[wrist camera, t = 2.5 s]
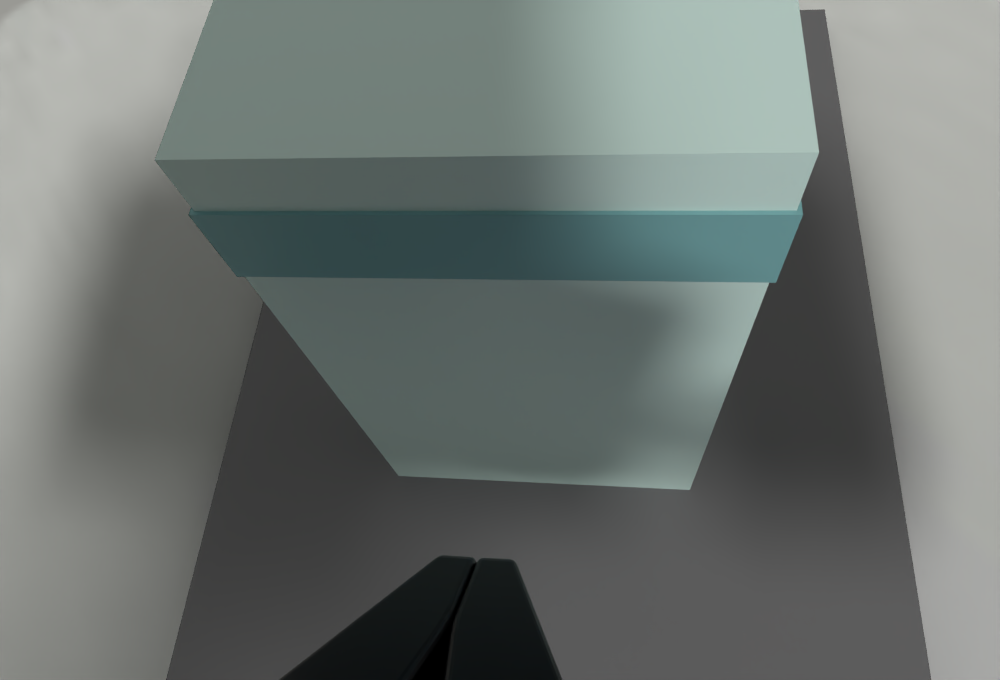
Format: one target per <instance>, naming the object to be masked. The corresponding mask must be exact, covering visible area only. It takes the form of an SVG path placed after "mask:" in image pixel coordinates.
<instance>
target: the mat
mask: <svg viewBox="0 0 1000 680" xmlns="http://www.w3.org/2000/svg"><path fill="white" fill-rule="evenodd" d="M800 17H801V24H802V32H803V39H804V46H805V53H806V61H807V68H808V75H809V82H810V90H811V97H812V104H813V111H814V119H815V126H816V133H817V140H818V148H819V154H818V157H817V159H816V162H815V164H814V167H813V170H812V172H811V175H810V178H809V180H808V183H807V185H806V188H805V191H804V193H803V196H802V198H801V202H802V211H803V216H802V219H801V221H800V224H799V226H798V229H797V231H796V234H795V236H794V239H793V241H792V244H791V246H790V249H789V251H788V254H787V256H786V259H785V261H784V264H783V266H782V269H781V271H780V274H779V276H778V279H777V281H776V283H769V285H768V287H767V290H766V292H765V295H764V298H763V300H762V303H761V305H760V308H759V311H758V313H757V316H756V318H755V321H754V324H753V326H752V329H751V332H750V334H749V337H748V339H747V342H746V345H745V347H744V350H743V352H742V355H741V358H740V360H739V363H738V365H737V368H736V371H735V373H734V376H733V379H732V381H731V384H730V386H729V389H728V392H727V394H726V397H725V399H724V402H723V405H722V407H721V410H720V412H719V415H718V418H717V420H716V423H715V426H714V428H713V431H712V433H711V436H710V439H709V441H708V444H707V446H706V449H705V452H704V454H703V457H702V459H701V462H700V465H699V467H698V470H697V473H696V475H695V478H694V480H693V483H692V486H691V488H690V490H679V489H659V488H638V487H617V486H597V485H576V484H555V483H535V482H514V481H493V480H473V479H452V478H431V477H411V476H398V475H397V473H396V472H395V471H394V469H393V468H392V467H391V465H390V464H389V463H388V462H387V460H386V459H385V458H384V456H383V455H382V454H381V452H380V451H379V450H378V449H377V447H376V446H375V445H374V443H373V442H372V441H371V440H370V438H369V437H368V436H367V434H366V433H365V432H364V430H363V429H362V428H361V427H360V425H359V424H358V423H357V421H356V420H355V419H354V418H353V416H352V415H351V414H350V412H349V411H348V410H347V408H346V407H345V406H344V405H343V403H342V402H341V401H340V399H339V398H338V397H337V395H336V394H335V393H334V392H333V390H332V389H331V388H330V386H329V385H328V384H327V383H326V381H325V380H324V379H323V377H322V376H321V375H320V373H319V372H318V371H317V370H316V368H315V367H314V366H313V364H312V363H311V362H310V360H309V359H308V358H307V357H306V355H305V354H304V353H303V351H302V350H301V349H300V348H299V346H298V345H297V344H296V342H295V341H294V340H293V338H292V337H291V336H290V335H289V333H288V332H287V331H286V329H285V328H284V327H283V326H282V324H281V323H280V322H279V320H278V319H277V318H276V316H275V315H274V314H273V313H272V311H271V310H270V309H269V307H268V306H267V305H266V303H265V302H263V306H262V310H261V314H260V318H259V322H258V325H257V329H256V333H255V337H254V341H253V345H252V349H251V353H250V356H249V360H248V364H247V368H246V372H245V376H244V380H243V384H242V387H241V391H240V395H239V399H238V403H237V407H236V411H235V415H234V418H233V422H232V426H231V430H230V434H229V438H228V442H227V446H226V450H225V453H224V457H223V461H222V465H221V469H220V473H219V477H218V481H217V484H216V488H215V492H214V496H213V500H212V504H211V508H210V512H209V515H208V519H207V523H206V527H205V531H204V535H203V539H202V543H201V546H200V550H199V554H198V558H197V562H196V566H195V570H194V574H193V577H192V581H191V585H190V589H189V593H188V597H187V601H186V605H185V609H184V612H183V616H182V620H181V624H180V628H179V632H178V636H177V640H176V643H175V647H174V651H173V655H172V659H171V663H170V667H169V671H168V674H167V678H166V680H279V679H280V678H282V677H283V676H284V675H285V674H287V673H288V672H289V671H291V670H292V669H293V668H294V667H296V666H297V665H298V664H300V663H301V662H302V661H304V660H305V659H306V658H307V657H309V656H310V655H311V654H313V653H314V652H315V651H316V650H318V649H319V648H320V647H322V646H323V645H324V644H325V643H327V642H328V641H329V640H331V639H332V638H333V637H334V636H336V635H337V634H338V633H340V632H341V631H342V630H344V629H345V628H346V627H347V626H349V625H350V624H351V623H353V622H354V621H355V620H356V619H358V618H359V617H360V616H362V615H363V614H364V613H365V612H367V611H368V610H369V609H371V608H372V607H373V606H374V605H376V604H377V603H378V602H380V601H381V600H382V599H384V598H385V597H386V596H387V595H389V594H390V593H391V592H393V591H394V590H395V589H396V588H398V587H399V586H400V585H402V584H403V583H404V582H405V581H407V580H408V579H409V578H411V577H412V576H413V575H414V574H416V573H417V572H418V571H420V570H421V569H422V568H424V567H425V566H426V565H427V564H429V563H430V562H431V561H433V560H434V559H435V558H437V557H439V556H441V555H449V556H465V557H473V558H474V559H475V560H476V562H477V561H478V560H479V559H481V558H498V559H511V560H514V561H515V562H516V564H517V565H518V568H519V570H520V573H521V576H522V578H523V581H524V583H525V586H526V588H527V591H528V593H529V596H530V598H531V601H532V603H533V606H534V609H535V611H536V614H537V616H538V619H539V621H540V624H541V626H542V629H543V631H544V634H545V636H546V639H547V642H548V644H549V647H550V649H551V652H552V654H553V657H554V659H555V662H556V664H557V667H558V669H559V672H560V675H561V677H562V680H931V676H930V669H929V663H928V657H927V650H926V644H925V638H924V632H923V625H922V619H921V613H920V606H919V600H918V594H917V588H916V581H915V575H914V569H913V563H912V556H911V550H910V544H909V537H908V531H907V525H906V519H905V512H904V506H903V500H902V493H901V487H900V481H899V475H898V468H897V462H896V456H895V449H894V443H893V437H892V431H891V424H890V418H889V412H888V405H887V399H886V393H885V387H884V380H883V374H882V368H881V362H880V355H879V349H878V343H877V336H876V330H875V324H874V318H873V311H872V305H871V299H870V292H869V286H868V280H867V274H866V267H865V261H864V255H863V248H862V242H861V236H860V230H859V223H858V217H857V211H856V204H855V198H854V192H853V186H852V179H851V173H850V167H849V161H848V154H847V148H846V142H845V135H844V129H843V123H842V117H841V110H840V104H839V98H838V91H837V85H836V79H835V73H834V66H833V60H832V54H831V47H830V41H829V35H828V29H827V22H826V16H825V10H800Z"/></svg>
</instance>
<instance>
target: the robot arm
mask: <svg viewBox="0 0 1000 680" xmlns="http://www.w3.org/2000/svg"><path fill="white" fill-rule="evenodd" d="M279 680H562V677H561V675H560V672H559V669H558V667H557V664H556V662H555V659H554V657H553V654H552V652H551V649H550V647H549V644H548V642H547V639H546V636H545V634H544V631H543V629H542V626H541V624H540V621H539V619H538V616H537V614H536V611H535V609H534V606H533V603H532V601H531V598H530V596H529V593H528V591H527V588H526V586H525V583H524V581H523V578H522V576H521V573H520V570H519V568H518V565H517V564H516V562H515V561H514V560H511V559H498V558H481V559H479V560H478V561H477V562H476V560H475V559H474V558H473V557H465V556H449V555H441V556H439V557H437V558H435V559H434V560H433V561H431V562H430V563H429V564H427V565H426V566H425V567H424V568H422V569H421V570H420V571H418V572H417V573H416V574H414V575H413V576H412V577H411V578H409V579H408V580H407V581H405V582H404V583H403V584H402V585H400V586H399V587H398V588H396V589H395V590H394V591H393V592H391V593H390V594H389V595H387V596H386V597H385V598H384V599H382V600H381V601H380V602H378V603H377V604H376V605H374V606H373V607H372V608H371V609H369V610H368V611H367V612H365V613H364V614H363V615H362V616H360V617H359V618H358V619H356V620H355V621H354V622H353V623H351V624H350V625H349V626H347V627H346V628H345V629H344V630H342V631H341V632H340V633H338V634H337V635H336V636H334V637H333V638H332V639H331V640H329V641H328V642H327V643H325V644H324V645H323V646H322V647H320V648H319V649H318V650H316V651H315V652H314V653H313V654H311V655H310V656H309V657H307V658H306V659H305V660H304V661H302V662H301V663H300V664H298V665H297V666H296V667H294V668H293V669H292V670H291V671H289V672H288V673H287V674H285V675H284V676H283V677H282V678H280V679H279Z"/></svg>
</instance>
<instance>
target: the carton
mask: <svg viewBox="0 0 1000 680" xmlns="http://www.w3.org/2000/svg"><path fill="white" fill-rule="evenodd" d="M818 154H819V148H818V140H817V133H816V126H815V119H814V111H813V104H812V97H811V90H810V82H809V75H808V68H807V61H806V53H805V46H804V39H803V32H802V24H801V17H800V10H799V3H798V0H213V3H212V6H211V9H210V11H209V14H208V17H207V19H206V22H205V25H204V28H203V30H202V33H201V36H200V38H199V41H198V44H197V47H196V49H195V52H194V55H193V57H192V60H191V63H190V66H189V68H188V71H187V74H186V76H185V79H184V82H183V85H182V87H181V90H180V93H179V95H178V98H177V101H176V104H175V106H174V109H173V112H172V114H171V117H170V120H169V123H168V125H167V128H166V131H165V133H164V136H163V139H162V142H161V144H160V147H159V150H158V152H157V155H156V158H155V161H156V162H157V164H158V165H159V166H160V167H161V169H162V170H163V171H164V173H165V174H166V175H167V177H168V178H169V179H170V180H171V182H172V183H173V184H174V186H175V187H176V188H177V189H178V191H179V192H180V193H181V195H182V196H183V197H184V199H185V200H186V201H187V202H188V204H189V205H190V206H191V209H190V212H189V216H190V218H191V219H192V220H193V221H194V223H195V224H196V225H197V227H198V228H199V229H200V230H201V232H202V233H203V234H204V235H205V237H206V238H207V239H208V240H209V242H210V243H211V244H212V246H213V247H214V248H215V249H216V251H217V252H218V253H219V254H220V256H221V257H222V258H223V260H224V261H225V262H226V263H227V265H228V266H229V267H230V268H231V270H232V271H233V272H234V273H235V275H236V276H237V277H245V278H246V279H247V280H248V281H249V283H250V284H251V285H252V287H253V288H254V289H255V291H256V292H257V293H258V294H259V296H260V297H261V298H262V300H263V301H264V302H265V303H266V305H267V306H268V307H269V309H270V310H271V311H272V313H273V314H274V315H275V316H276V318H277V319H278V320H279V322H280V323H281V324H282V326H283V327H284V328H285V329H286V331H287V332H288V333H289V335H290V336H291V337H292V338H293V340H294V341H295V342H296V344H297V345H298V346H299V348H300V349H301V350H302V351H303V353H304V354H305V355H306V357H307V358H308V359H309V360H310V362H311V363H312V364H313V366H314V367H315V368H316V370H317V371H318V372H319V373H320V375H321V376H322V377H323V379H324V380H325V381H326V383H327V384H328V385H329V386H330V388H331V389H332V390H333V392H334V393H335V394H336V395H337V397H338V398H339V399H340V401H341V402H342V403H343V405H344V406H345V407H346V408H347V410H348V411H349V412H350V414H351V415H352V416H353V418H354V419H355V420H356V421H357V423H358V424H359V425H360V427H361V428H362V429H363V430H364V432H365V433H366V434H367V436H368V437H369V438H370V440H371V441H372V442H373V443H374V445H375V446H376V447H377V449H378V450H379V451H380V452H381V454H382V455H383V456H384V458H385V459H386V460H387V462H388V463H389V464H390V465H391V467H392V468H393V469H394V471H395V472H396V473H397V475H398V476H411V477H431V478H452V479H473V480H493V481H514V482H535V483H555V484H576V485H597V486H617V487H638V488H659V489H679V490H690V488H691V486H692V483H693V480H694V478H695V475H696V473H697V470H698V467H699V465H700V462H701V459H702V457H703V454H704V452H705V449H706V446H707V444H708V441H709V439H710V436H711V433H712V431H713V428H714V426H715V423H716V420H717V418H718V415H719V412H720V410H721V407H722V405H723V402H724V399H725V397H726V394H727V392H728V389H729V386H730V384H731V381H732V379H733V376H734V373H735V371H736V368H737V365H738V363H739V360H740V358H741V355H742V352H743V350H744V347H745V345H746V342H747V339H748V337H749V334H750V332H751V329H752V326H753V324H754V321H755V318H756V316H757V313H758V311H759V308H760V305H761V303H762V300H763V298H764V295H765V292H766V290H767V287H768V285H769V283H776V281H777V279H778V276H779V274H780V271H781V269H782V266H783V264H784V261H785V259H786V256H787V254H788V251H789V249H790V246H791V244H792V241H793V239H794V236H795V234H796V231H797V229H798V226H799V224H800V221H801V219H802V216H803V211H802V202H801V198H802V196H803V193H804V191H805V188H806V185H807V183H808V180H809V178H810V175H811V172H812V170H813V167H814V164H815V162H816V159H817V157H818Z"/></svg>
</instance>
